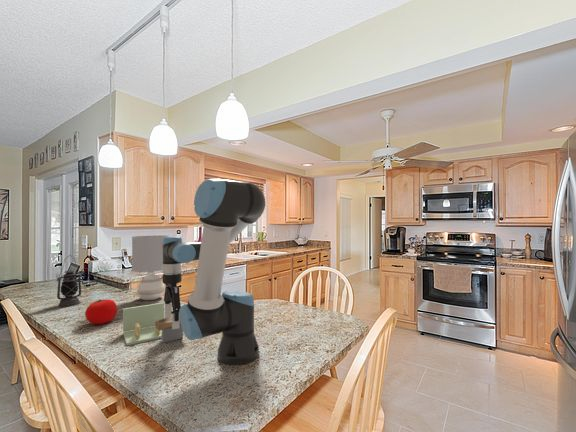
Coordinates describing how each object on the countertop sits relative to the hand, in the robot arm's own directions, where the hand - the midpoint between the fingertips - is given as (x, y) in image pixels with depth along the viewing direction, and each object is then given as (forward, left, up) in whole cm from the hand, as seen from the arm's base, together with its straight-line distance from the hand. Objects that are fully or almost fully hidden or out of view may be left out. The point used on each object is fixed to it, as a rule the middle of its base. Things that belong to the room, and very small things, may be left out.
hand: (171, 323), depth 123 cm
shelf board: (0, 0, -1) cm, 1 cm away
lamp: (+77, -4, -7) cm, 77 cm away
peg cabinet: (+12, +8, -7) cm, 16 cm away
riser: (0, 0, -7) cm, 7 cm away
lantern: (+92, +39, -7) cm, 100 cm away
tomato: (+42, +24, -7) cm, 49 cm away
